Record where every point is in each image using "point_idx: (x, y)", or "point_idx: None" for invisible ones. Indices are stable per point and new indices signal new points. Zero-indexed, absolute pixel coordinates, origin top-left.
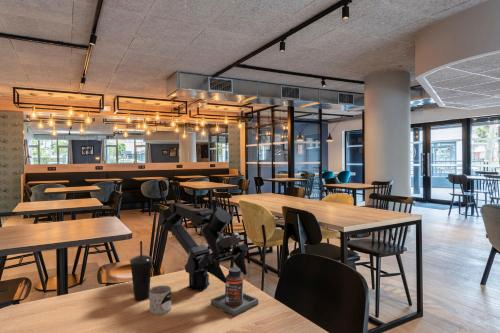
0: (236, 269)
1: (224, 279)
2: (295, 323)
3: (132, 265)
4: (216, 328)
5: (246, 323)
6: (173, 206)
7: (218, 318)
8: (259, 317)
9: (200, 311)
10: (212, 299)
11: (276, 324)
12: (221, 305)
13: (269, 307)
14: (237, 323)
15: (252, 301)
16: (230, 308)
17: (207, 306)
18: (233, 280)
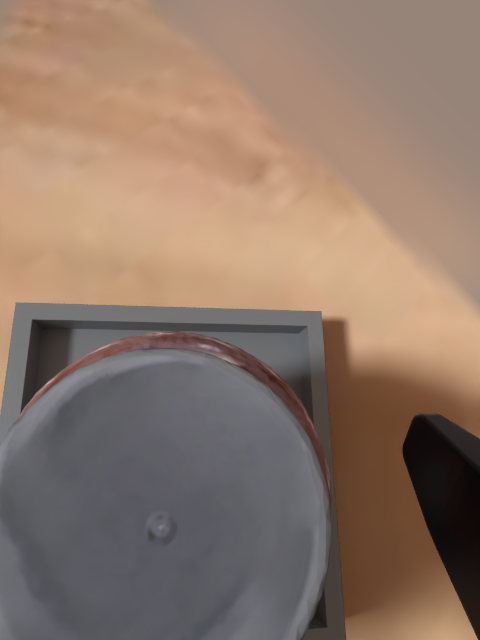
0: (131, 467)
1: (477, 439)
2: (97, 12)
3: None
4: (470, 306)
5: (301, 212)
6: None
7: (399, 389)
8: (189, 194)
9: (451, 586)
10: (332, 638)
11: (182, 81)
12: (331, 469)
13: (20, 222)
14: (342, 252)
15: (93, 310)
16: (315, 361)
17: (363, 623)
18: (288, 386)
